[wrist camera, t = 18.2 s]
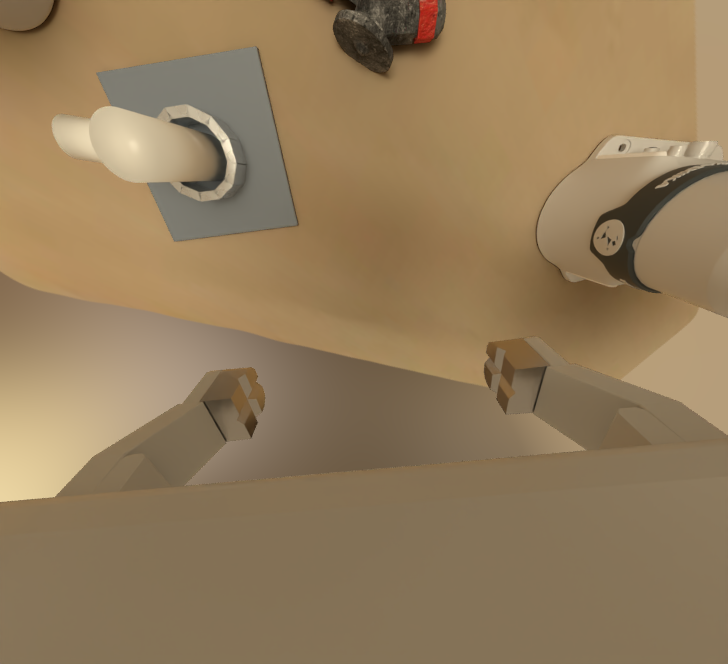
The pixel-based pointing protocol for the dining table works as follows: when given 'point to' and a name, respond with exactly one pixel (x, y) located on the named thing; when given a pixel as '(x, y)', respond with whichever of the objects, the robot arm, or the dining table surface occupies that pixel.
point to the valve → (386, 28)
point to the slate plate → (244, 117)
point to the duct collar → (230, 145)
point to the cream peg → (141, 146)
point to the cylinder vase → (23, 13)
